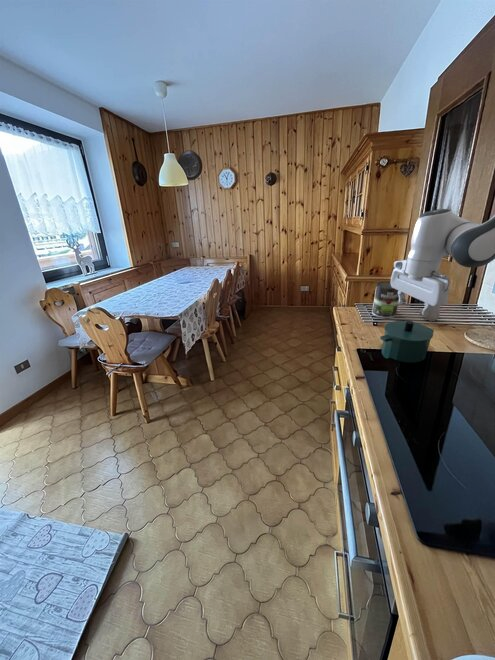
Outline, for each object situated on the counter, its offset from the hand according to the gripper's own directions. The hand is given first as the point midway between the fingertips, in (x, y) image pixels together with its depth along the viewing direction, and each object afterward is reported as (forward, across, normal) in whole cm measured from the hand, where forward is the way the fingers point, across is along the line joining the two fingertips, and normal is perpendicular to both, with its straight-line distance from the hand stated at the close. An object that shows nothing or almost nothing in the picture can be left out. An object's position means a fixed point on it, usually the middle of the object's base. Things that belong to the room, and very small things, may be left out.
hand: (412, 309), depth 92 cm
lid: (+8, 0, 0) cm, 8 cm away
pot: (+18, 0, 0) cm, 18 cm away
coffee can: (+18, +32, -16) cm, 40 cm away
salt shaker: (+18, +20, -30) cm, 40 cm away
